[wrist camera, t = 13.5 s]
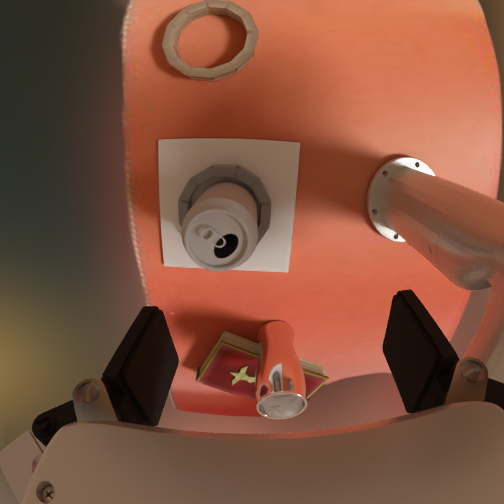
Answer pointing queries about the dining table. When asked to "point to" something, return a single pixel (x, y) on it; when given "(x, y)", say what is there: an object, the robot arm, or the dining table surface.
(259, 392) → the silver tumbler
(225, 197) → the can
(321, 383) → the hardcover book
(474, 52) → the dining table surface
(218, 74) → the stand ring
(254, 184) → the holder
